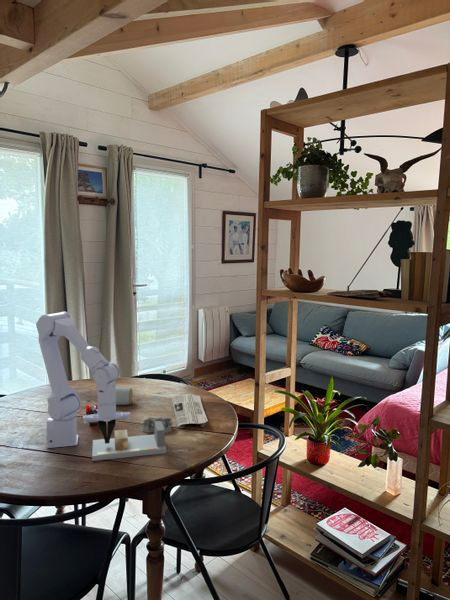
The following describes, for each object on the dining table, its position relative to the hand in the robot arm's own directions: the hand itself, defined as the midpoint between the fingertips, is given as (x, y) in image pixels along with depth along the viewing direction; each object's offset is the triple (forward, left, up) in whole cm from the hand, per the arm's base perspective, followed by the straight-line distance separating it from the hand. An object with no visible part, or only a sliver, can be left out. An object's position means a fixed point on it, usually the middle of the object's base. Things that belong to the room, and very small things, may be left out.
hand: (107, 442), depth 142 cm
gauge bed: (+7, 0, -3) cm, 7 cm away
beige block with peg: (+4, -1, -1) cm, 5 cm away
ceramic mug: (+7, +45, -3) cm, 46 cm away
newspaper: (+33, +28, -4) cm, 44 cm away
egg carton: (+18, +14, -3) cm, 23 cm away
